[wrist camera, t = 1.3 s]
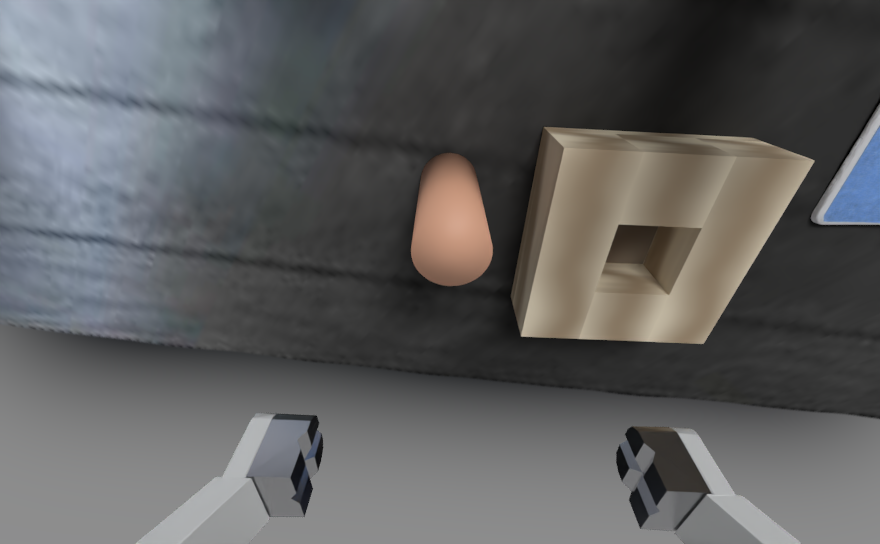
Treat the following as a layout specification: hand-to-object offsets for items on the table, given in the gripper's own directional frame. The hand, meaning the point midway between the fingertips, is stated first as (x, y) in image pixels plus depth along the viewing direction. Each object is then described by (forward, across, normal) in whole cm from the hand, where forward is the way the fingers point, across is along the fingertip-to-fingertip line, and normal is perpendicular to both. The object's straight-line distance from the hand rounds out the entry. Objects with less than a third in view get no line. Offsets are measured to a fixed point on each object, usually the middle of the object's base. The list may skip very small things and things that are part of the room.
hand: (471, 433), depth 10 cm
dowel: (+20, +1, 0) cm, 20 cm away
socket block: (+20, -12, +3) cm, 24 cm away
